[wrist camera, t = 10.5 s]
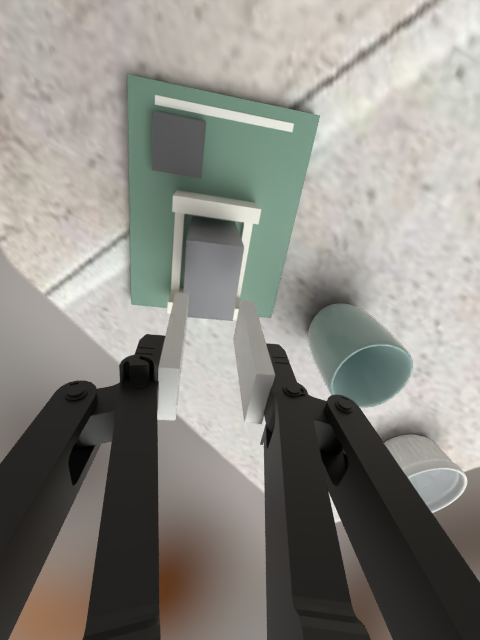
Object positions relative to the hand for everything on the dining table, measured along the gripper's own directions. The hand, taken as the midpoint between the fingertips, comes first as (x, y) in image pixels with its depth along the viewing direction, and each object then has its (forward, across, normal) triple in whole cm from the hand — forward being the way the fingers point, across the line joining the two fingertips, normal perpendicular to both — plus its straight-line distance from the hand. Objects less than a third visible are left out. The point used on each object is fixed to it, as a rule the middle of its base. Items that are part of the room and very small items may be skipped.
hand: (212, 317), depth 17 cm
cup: (+15, +16, -7) cm, 23 cm away
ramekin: (+15, +36, -31) cm, 50 cm away
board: (+15, 0, +3) cm, 15 cm away
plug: (+13, 0, 0) cm, 13 cm away
